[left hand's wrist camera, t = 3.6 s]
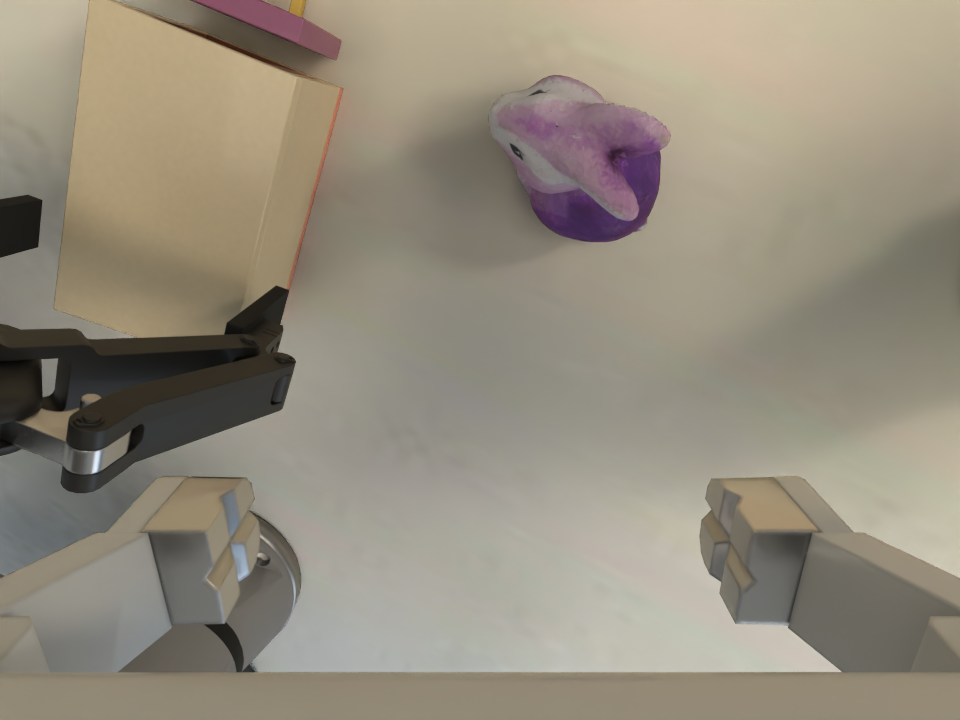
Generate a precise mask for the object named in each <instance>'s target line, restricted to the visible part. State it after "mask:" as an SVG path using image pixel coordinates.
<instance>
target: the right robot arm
mask: <svg viewBox="0 0 960 720" xmlns="http://www.w3.org/2000/svg"><path fill="white" fill-rule="evenodd" d="M41 209H42V200H41V199H38V198H35V197H33V196H30V195H24V196H18V197H12V198H6V199H0V258H1V257H4V256H8V255H11V254H15V253H19V252H22V251H26V250H29V249H33V248H36V247H38V243H39V232H40V221H41ZM288 292H289V290H288V289H285V288H282V287H279V286H277V285H276V286H275V287H273V288H272V289H271V290H269V291H268V292H267V293H265V294H264V295H263V296H261V297H260V298H259V299H257V300H256V301H255V302H253V303H252V304H251V305H249V306H248V307H247V308H245V309H244V310H243V311H242V312H240V313H239V314H238V315H236V316H235V317H234V318H232V319H231V320H230V321H228V322H227V324H226V328H225V333H224V335H202V336H175V337H149V338H123V339H97V340H91V339H87V338H85V336H84V335H83V334H82V332H80V331H79V330H77V329H31V330H20V329H17V328H14V327H11V326H8V325H4V324H0V456H2V455H6V454H10V453H13V452H16V451H18V450H20V449H22V448H23V449H25V450H27V451H30V452H32V453H35V454H37V455H40V456H42V457H45V458H47V459H49V460H52V461H54V462H57V463H59V464H61V465H63V468H62V476H61V485H62V487H63V488H65V489H66V490H68V491H70V492H74V493H88V492H93V491H95V490H97V489H99V488H101V487H102V486H104V485H105V484H106V483H108V482H109V481H110V480H112V479H113V478H114V477H116V476H117V475H118V474H120V473H121V472H123V471H124V470H125V469H127V468H128V467H129V466H131V465H132V464H133V463H135V462H137V461H140V460H143V459H146V458H148V457H151V456H154V455H157V454H160V453H162V452H165V451H168V450H171V449H174V448H176V447H179V446H182V445H185V444H188V443H190V442H193V441H196V440H199V439H202V438H204V437H207V436H210V435H213V434H216V433H218V432H221V431H224V430H227V429H230V428H232V427H235V426H238V425H241V424H244V423H246V422H249V421H252V420H255V419H258V418H260V417H263V416H266V415H269V414H272V413H274V412H277V411H280V410H281V409H282V408H283V406H284V402H285V399H286V395H287V392H288V388H289V385H290V381H291V377H292V374H293V370H294V367H295V363H296V361H295V359H294V358H293V357H292V356H290V355H288V354H284V353H278V348H279V344H280V341H281V337H282V333H283V325H280V323H281V319H282V315H283V311H284V308H285V304H286V300H287V296H288ZM53 358H58V365H57V374H56V383H55V390H54V392H53V393H52V394H51V395H50V396H47V397H44V398H42V365H41V359H53ZM253 515H254V514H253ZM254 516H255V517H256V518H257V519H258V521H259V528H260V548H259V552H258V557H257V561H256V563H255V566H254V568H253V570H252V572H251V574H250V575H248V576H247V577H245V578H244V579H242V580H241V581H239V588H240V595H239V597H238V599H237V601H236V603H235V605H234V607H233V609H232V611H231V612H230V614H229V616H228V618H227V620H226V622H225V624H200V625H171V626H172V628H171V629H170V630H169V631H168V632H166V633H165V634H164V635H163V636H161V637H160V638H159V639H158V640H156V641H155V642H154V643H153V644H152V645H150V646H149V647H148V648H147V649H145V650H144V651H143V652H142V653H140V654H139V655H138V656H137V657H136V658H134V659H133V660H132V661H131V662H129V663H128V664H127V665H126V666H124V667H123V668H122V669H121V670H120V671H118V672H254V670H253V669H252V668H251V667H250V665H249V664H250V663H251V661H252V660H253V659H254V658H255V657H256V656H257V655H258V654H259V653H260V652H261V651H262V650H263V649H264V648H265V647H266V645H267V644H268V643H269V642H270V641H271V640H272V639H273V638H274V637H275V636H276V635H277V634H278V633H279V632H280V631H281V630H282V629H283V627H284V626H285V625H286V623H287V622H288V620H289V618H290V616H291V614H292V611H293V609H294V607H295V604H296V602H297V599H298V596H299V593H300V588H301V573H300V568H299V564H298V561H297V559H296V556H295V554H294V552H293V551H292V549H291V547H290V546H289V544H288V543H287V541H286V540H285V539H284V538H283V537H282V535H281V534H280V533H279V532H278V531H277V530H275V529H274V528H273V527H272V526H271V525H270V524H268V523H267V522H265V521H264V520H263V519H261V518H259V517H258V516H256V515H254ZM2 577H4V575H2V574H0V578H2Z"/></svg>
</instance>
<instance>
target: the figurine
mask: <svg viewBox="0 0 960 720" xmlns="http://www.w3.org/2000/svg"><path fill="white" fill-rule="evenodd" d="M488 121H489V124H490V125H489V129H490V132H491V135H492V136H493V138H494V139H495V140H496V142H497V143H498V144H499V145H500V146H501V147H502V148H503V150H504V151H505V152H506V153H507V155H508V156H509V158H510V159H511V161H512V162H513V164H514V165H515V167H516V170H517V176H518V178H519V180H520V182H521V184H522V185H523V187H524V189H525V190H526V192H527V193H528V195H529V196H530V198H531V205H532V208H533V210H534V212H535V213H536V215H537V217H538V218H539V219H540V221H541V222H542V223H543V224H544V225H545V226H547V227H548V228H549V229H550V230H552V231H554V232H555V233H557V234H559V235H561V236H564V237H567V238H571V239H576V240H580V241H586V242H610V241H614V240H618V239H620V238H623V237H625V236H627V235H629V234H631V233H632V232H636V231H640V230H641V229H643V228H644V227H645V225H646V223H647V217H648V216H649V214H650V212H651V210H652V208H653V205H654V203H655V200H656V197H657V194H658V189H659V183H660V163H661V155H660V150H661V149H662V148H664V147H665V146H667V144H668V143H669V141H670V138H671V134H670V131H668V129H667V127H666V126H664V125H663V124H662V122H661V121H658V120H657V119H656V118H655V117H654V116H648V114H647V113H646V112H641V111H639V110H637V109H635V108H628V107H625V106H624V105H615V104H614V103H609V104H606V102H605V101H604V99H603V98H602V97H601V95H600V94H599V93H598V92H596V91H595V90H594V89H592V88H591V87H589V86H587V85H586V84H584V83H582V82H580V81H578V80H575V79H573V78H570V77H566V76H561V75H552V76H548V77H546V78H543V79H541V80H540V81H538V82H537V83H536V84H535V85H533V86H532V87H530V88H529V89H527V90H522V91H518V92H512V93H507V94H504V95H502V96H500V97H499V98H498V99H497V100H496V101H495V102H494V103H493V105H492V107H491V109H490V111H489V114H488Z"/></svg>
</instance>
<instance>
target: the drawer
mask: <svg viewBox="0 0 960 720" xmlns="http://www.w3.org/2000/svg"><path fill="white" fill-rule="evenodd" d="M191 1H193V2H196V3H198V4H200V5H203V6H205V7H208V8H210V9H213V10H215V11H217V12H220V13H222V14H225V15H227V16H229V17H232V18H234V19H237V20H239V21H242V22H244V23H246V24H249V25H251V26H254V27H256V28H258V29H261V30H263V31H266V32H268V33H270V34H273V35H275V36H278V37H280V38H283V39H285V40H287V41H290V42H292V43H295V44H297V45H299V46H302V47H304V48H307V49H309V50H311V51H314V52H316V53H319V54H321V55H324V56H326V57H328V58H331V59H333V60H337V57H338V53H339V49H340V45H341V40H340V39H338V38H336V37H335V36H333V35H331V34H330V33H328V32H326V31H325V30H323V29H321V28H319V27H318V26H316V25H314V24H313V23H311V22H309V21H307V20H306V19H304V18H302V16H303V12H304V7H305V3H306V0H291V5H290V9H289V12H288V11H285V10H283V9H280V8H278V7H276V6H273V5H271V4H269V3H266V2H264V1H261V0H191ZM137 11H138V10H137ZM139 12H141V11H139ZM142 13H144V12H142ZM144 14H147V13H144ZM147 15H149V16H151V17H154V18H156V19H159V20H161V21H164V22H166V23H169V24H171V25H174V26H176V27H178V28H181V29H183V30H186V31H188V32H191V33H193V34H196V35H198V36H201V37H203V38H205V39H208V40H210V41H213V42H215V43H218V44H220V45H223V46H225V47H227V48H230V49H232V50H235V51H237V52H240V53H242V54H245V55H247V56H250V57H252V58H254V59H257V60H259V61H262V62H264V63H267V64H269V65H272V66H274V67H277V68H279V69H281V70H284V71H286V72H290V73H294V74H297V75H301V76H305V77H308V78H312V79H315V78H313V77H311V76H308V75H306V74H304V73H301V72H299V71H296V70H294V69H291V68H289V67H286V66H284V65H282V64H279V63H277V62H274V61H272V60H269V59H267V58H264V57H262V56H260V55H257V54H255V53H252V52H250V51H247V50H245V49H242V48H240V47H238V46H235V45H233V44H230V43H228V42H225V41H223V40H220V39H218V38H216V37H213V36H211V35H208V34H206V33H203V32H201V31H198V30H195V29H192V28H189V27H186V26H183V25H180V24H177V23H174V22H171V21H168V20H165V19H162V18H159V17H156V16H153V15H150V14H147Z"/></svg>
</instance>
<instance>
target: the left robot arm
mask: <svg viewBox="0 0 960 720" xmlns="http://www.w3.org/2000/svg"><path fill="white" fill-rule="evenodd" d="M254 499H255V498H254V493H253V488H252V483H251V482H250V481H249V480H248V479H247V478H235V477H188V476H172V477H160V478H156V479H155V480H154V481H153V483H152V484H151V485H150V486H149V487H148V488H147V489H146V490H145V491H144V492H143V493H142V494H141V495H140V496H139V498H138V499H137V500H136V501H135V502H134V503H133V504H132V505H131V506H130V507H129V508H128V509H127V510H126V511H125V513H124V514H123V515H122V516H121V517H120V518H119V519H118V520H117V521H116V522H115V523H114V524H113V525H112V526H111V528H110V529H109V530H108V531H107V532H106V533H95V534H92V535H90V536H88V537H86V538H84V539H82V540H80V541H78V542H76V543H73V544H71V545H69V546H67V547H65V548H63V549H61V550H59V551H57V552H54V553H52V554H50V555H48V556H46V557H44V558H42V559H40V560H38V561H35V562H33V563H31V564H29V565H27V566H25V567H23V568H21V569H19V570H16V571H14V572H12V573H10V574H8V575H6V576H4V577H2V578H0V720H960V578H958V577H956V576H954V575H952V574H950V573H948V572H945V571H943V570H941V569H939V568H937V567H935V566H933V565H931V564H929V563H927V562H924V561H922V560H920V559H918V558H916V557H914V556H912V555H910V554H908V553H905V552H903V551H901V550H899V549H897V548H895V547H893V546H891V545H889V544H886V543H884V542H882V541H880V540H878V539H876V538H874V537H872V536H870V535H868V534H865V533H854V532H853V531H852V530H851V529H850V528H849V526H848V525H847V524H846V523H845V522H844V521H843V520H842V519H841V518H840V517H839V516H838V515H837V514H836V512H835V511H834V510H833V509H832V508H831V507H830V506H829V505H828V504H827V503H826V502H825V501H824V500H823V499H822V497H821V496H820V495H819V494H818V493H817V492H816V491H815V490H814V489H813V488H812V487H811V486H810V485H809V484H808V482H807V481H806V480H805V479H803V478H800V477H798V476H784V477H762V478H719V479H711V480H710V482H709V484H708V486H707V492H706V497H705V499H706V501H707V503H708V504H709V506H710V508H711V509H712V510H711V511H710V512H709V513H708V514H707V515H706V516H705V517H704V518H703V519H702V521H701V529H700V547H701V554H702V557H703V561H704V564H705V566H706V568H707V570H708V572H709V574H710V575H712V576H713V577H715V578H716V579H718V580H719V581H721V588H720V595H721V597H722V599H723V601H724V603H725V605H726V607H727V609H728V610H729V612H730V614H731V616H732V618H733V620H734V622H735V624H759V625H789V626H788V628H789V629H790V630H792V631H793V632H794V633H795V634H796V635H798V636H799V637H800V638H801V639H803V640H804V641H805V642H806V643H807V644H809V645H810V646H811V647H812V648H814V649H815V650H816V651H817V652H819V653H820V654H821V655H822V656H823V657H825V658H826V659H827V660H828V661H830V662H831V663H832V664H833V665H835V666H836V667H837V668H838V669H839V670H841V671H842V672H118V671H120V670H121V669H122V668H123V667H124V666H126V665H127V664H128V663H129V662H131V661H132V660H133V659H134V658H136V657H137V656H138V655H139V654H140V653H142V652H143V651H144V650H145V649H147V648H148V647H149V646H150V645H152V644H153V643H154V642H155V641H156V640H158V639H159V638H160V637H161V636H163V635H164V634H165V633H166V632H168V631H169V630H170V629H171V628H172V626H171V625H200V624H225V622H226V620H227V618H228V616H229V614H230V612H231V611H232V609H233V607H234V605H235V603H236V601H237V599H238V597H239V595H240V588H239V581H241V580H242V579H244V578H245V577H247V576H248V575H250V574H251V572H252V570H253V568H254V566H255V563H256V561H257V557H258V552H259V548H260V528H259V521H258V519H257V518H256V517H255V516H254V515H253V514H252V513H251V512H250V511H249V510H248V509H249V508H250V506H251V504H252V503H253V501H254Z"/></svg>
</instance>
